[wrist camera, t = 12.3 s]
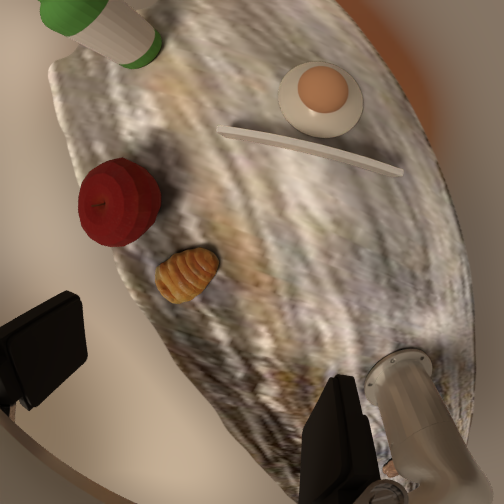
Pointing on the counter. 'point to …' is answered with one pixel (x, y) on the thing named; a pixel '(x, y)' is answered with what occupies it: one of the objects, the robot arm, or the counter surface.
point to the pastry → (186, 274)
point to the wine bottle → (104, 29)
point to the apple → (118, 202)
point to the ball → (323, 89)
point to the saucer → (314, 121)
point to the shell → (390, 469)
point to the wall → (309, 149)
